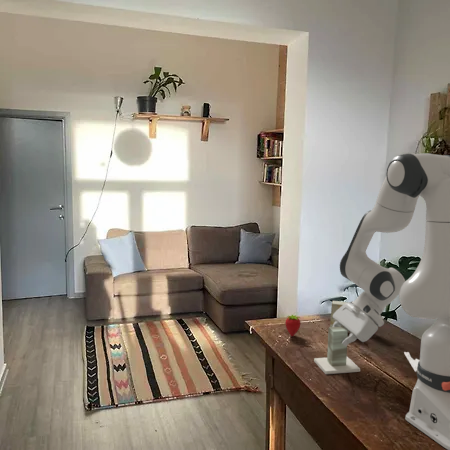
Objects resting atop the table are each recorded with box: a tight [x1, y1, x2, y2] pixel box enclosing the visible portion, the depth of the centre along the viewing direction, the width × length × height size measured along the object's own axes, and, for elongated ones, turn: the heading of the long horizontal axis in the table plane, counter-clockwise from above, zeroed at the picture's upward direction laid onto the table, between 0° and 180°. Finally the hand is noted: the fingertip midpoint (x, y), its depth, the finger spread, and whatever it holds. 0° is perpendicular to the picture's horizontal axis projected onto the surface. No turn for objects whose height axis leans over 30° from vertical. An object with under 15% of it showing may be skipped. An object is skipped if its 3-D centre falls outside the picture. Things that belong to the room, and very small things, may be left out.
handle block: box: [326, 326, 349, 366], centre depth 151 cm, size 4×5×12 cm
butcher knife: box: [403, 351, 420, 373], centre depth 156 cm, size 5×15×1 cm, turn 171°
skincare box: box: [329, 300, 349, 327], centre depth 183 cm, size 6×4×12 cm
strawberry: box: [285, 313, 302, 338], centre depth 178 cm, size 6×8×10 cm
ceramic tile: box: [313, 356, 361, 375], centre depth 152 cm, size 10×12×1 cm
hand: (336, 338), depth 151 cm, fingers open, 8 cm apart
